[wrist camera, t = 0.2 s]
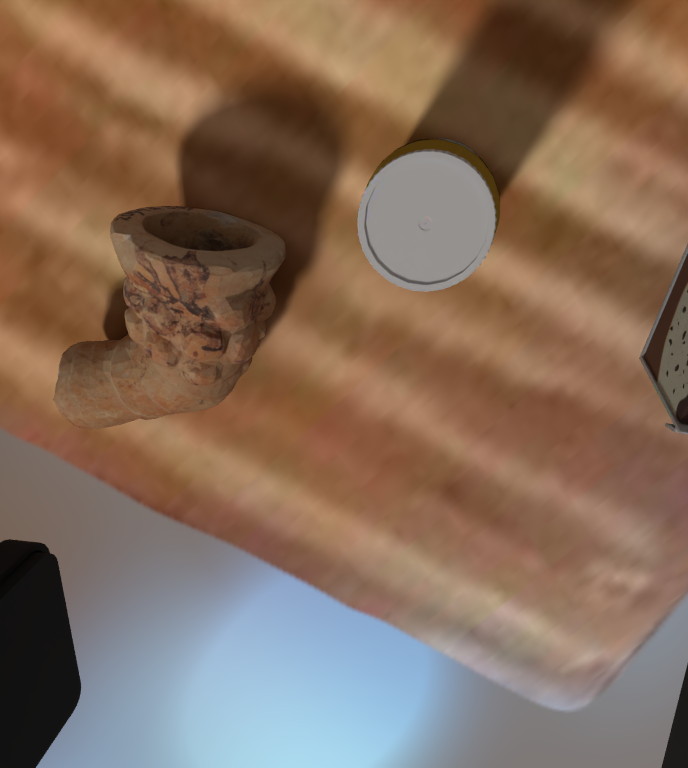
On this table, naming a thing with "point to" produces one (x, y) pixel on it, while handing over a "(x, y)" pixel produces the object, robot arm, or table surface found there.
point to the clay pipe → (175, 317)
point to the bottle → (429, 215)
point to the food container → (671, 350)
